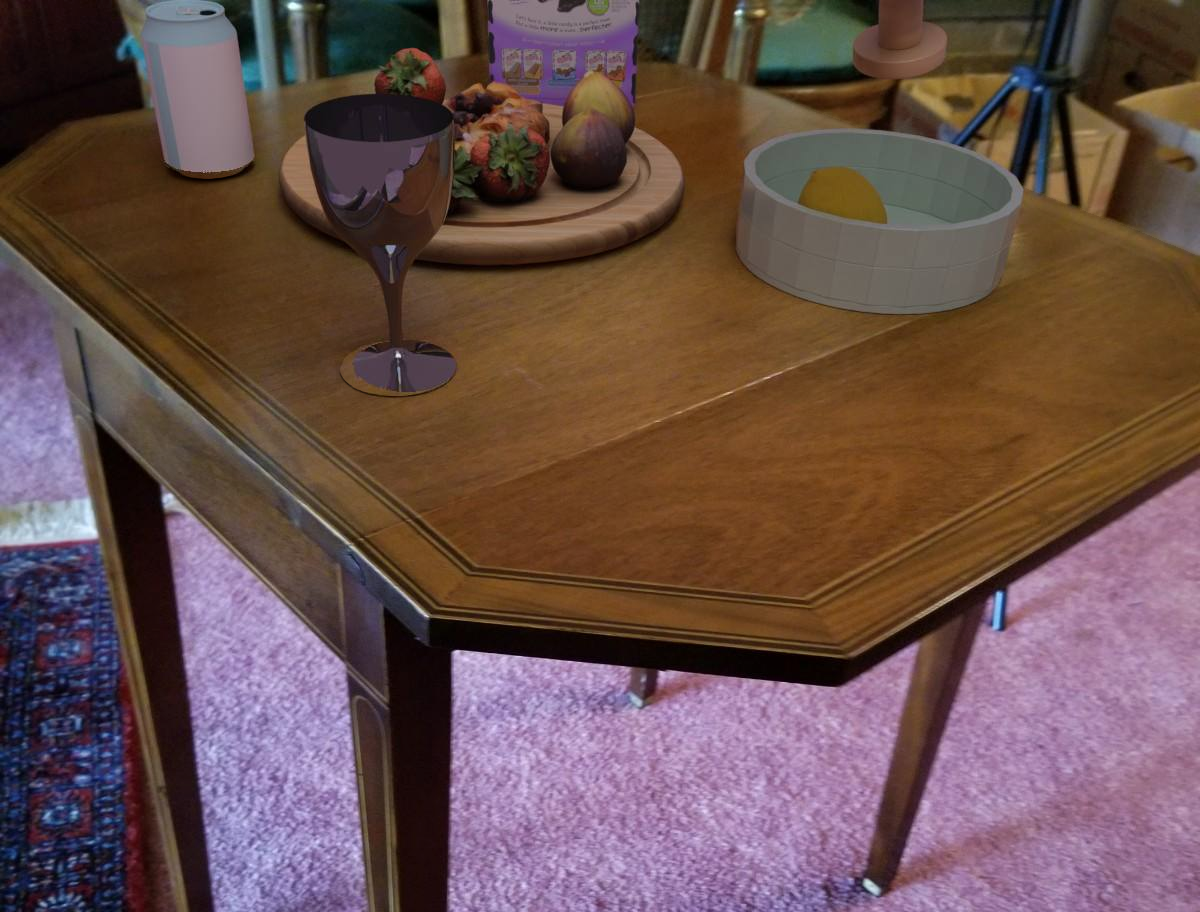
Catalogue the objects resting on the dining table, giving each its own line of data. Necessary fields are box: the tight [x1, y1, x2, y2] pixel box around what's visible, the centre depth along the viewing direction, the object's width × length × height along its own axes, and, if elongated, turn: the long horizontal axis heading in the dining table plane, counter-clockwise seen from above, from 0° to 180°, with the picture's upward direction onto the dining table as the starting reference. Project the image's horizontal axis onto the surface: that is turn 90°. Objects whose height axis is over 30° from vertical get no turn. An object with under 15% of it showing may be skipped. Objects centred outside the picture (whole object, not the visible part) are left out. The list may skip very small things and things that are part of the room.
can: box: [139, 0, 255, 173], centre depth 95 cm, size 7×7×12 cm
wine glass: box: [303, 93, 458, 392], centre depth 69 cm, size 8×8×15 cm
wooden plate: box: [278, 47, 686, 266], centre depth 94 cm, size 32×32×8 cm
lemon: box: [798, 167, 887, 224], centre depth 83 cm, size 6×6×8 cm
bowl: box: [735, 128, 1025, 315], centre depth 88 cm, size 20×20×6 cm
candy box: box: [486, 0, 640, 109], centre depth 110 cm, size 14×6×16 cm, turn 91°
